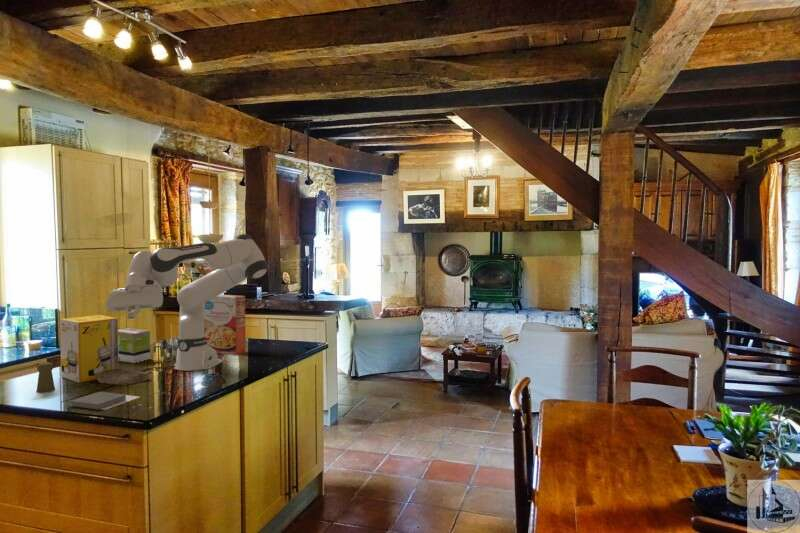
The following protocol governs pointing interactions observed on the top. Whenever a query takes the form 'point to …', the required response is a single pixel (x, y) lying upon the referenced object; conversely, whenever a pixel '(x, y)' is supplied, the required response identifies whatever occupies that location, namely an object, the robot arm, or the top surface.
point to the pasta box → (225, 324)
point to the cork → (45, 378)
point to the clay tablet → (122, 376)
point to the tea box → (133, 345)
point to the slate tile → (98, 400)
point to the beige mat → (128, 398)
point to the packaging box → (88, 347)
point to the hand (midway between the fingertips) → (131, 317)
